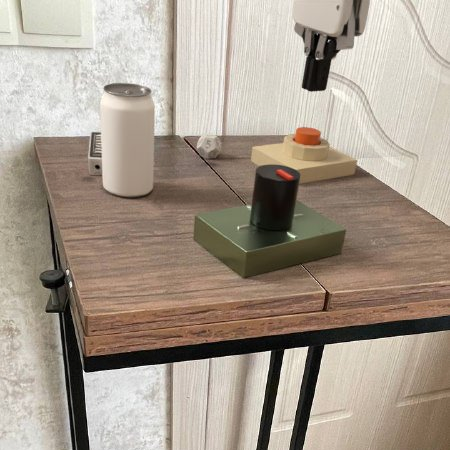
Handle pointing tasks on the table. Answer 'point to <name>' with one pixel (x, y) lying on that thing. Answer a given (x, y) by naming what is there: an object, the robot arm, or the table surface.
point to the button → (307, 136)
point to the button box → (306, 159)
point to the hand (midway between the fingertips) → (313, 89)
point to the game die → (209, 146)
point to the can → (127, 139)
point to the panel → (267, 239)
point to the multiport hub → (95, 154)
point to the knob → (274, 197)
